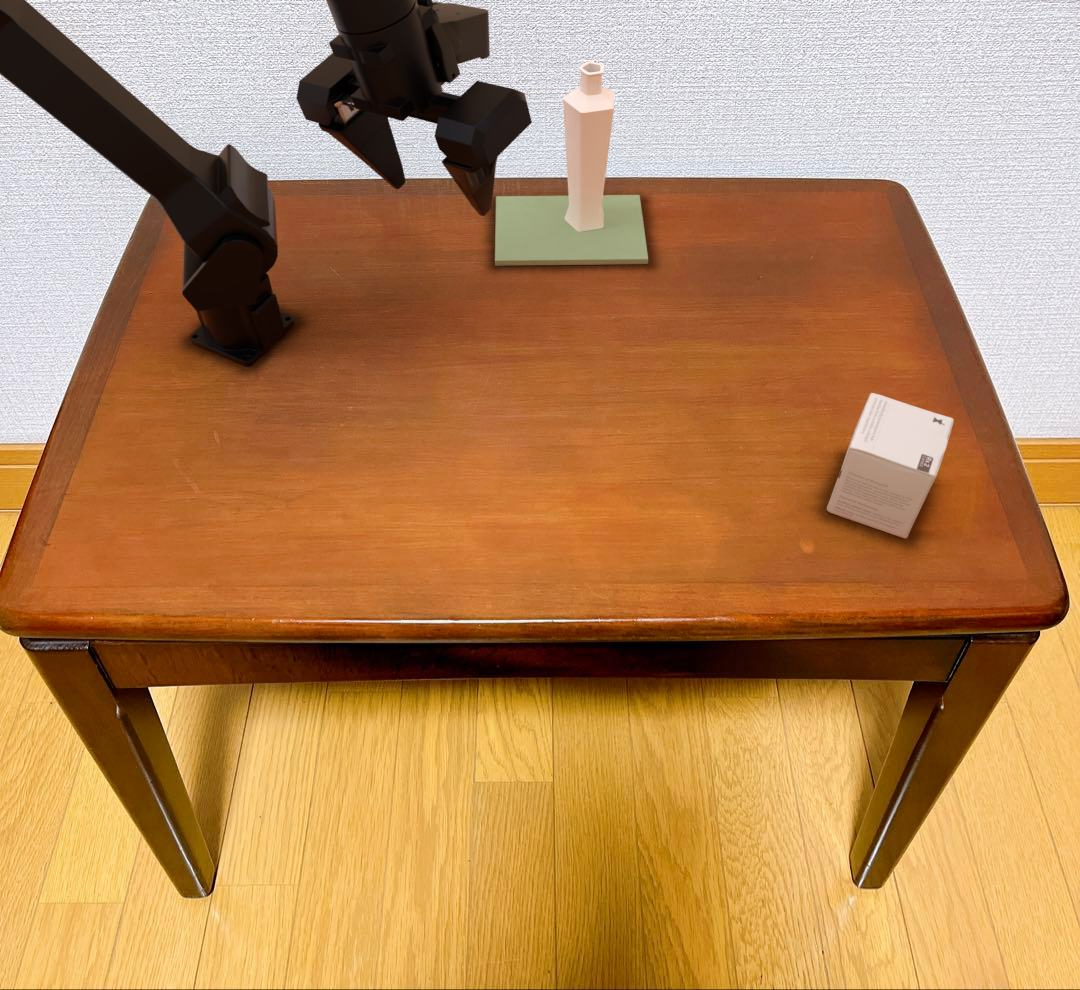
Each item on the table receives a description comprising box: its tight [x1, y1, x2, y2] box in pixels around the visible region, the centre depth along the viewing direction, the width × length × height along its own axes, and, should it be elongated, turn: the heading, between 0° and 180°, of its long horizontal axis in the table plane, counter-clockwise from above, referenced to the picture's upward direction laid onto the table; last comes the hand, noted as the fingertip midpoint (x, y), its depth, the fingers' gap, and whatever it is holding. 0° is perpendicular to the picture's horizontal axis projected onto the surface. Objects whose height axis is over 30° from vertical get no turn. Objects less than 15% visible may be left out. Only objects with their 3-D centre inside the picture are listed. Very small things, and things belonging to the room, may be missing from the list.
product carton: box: [826, 392, 955, 539], centre depth 72 cm, size 6×6×7 cm
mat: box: [494, 194, 649, 267], centre depth 96 cm, size 14×10×1 cm
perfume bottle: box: [562, 61, 615, 232], centre depth 90 cm, size 5×4×15 cm
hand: (442, 198), depth 81 cm, fingers open, 9 cm apart
